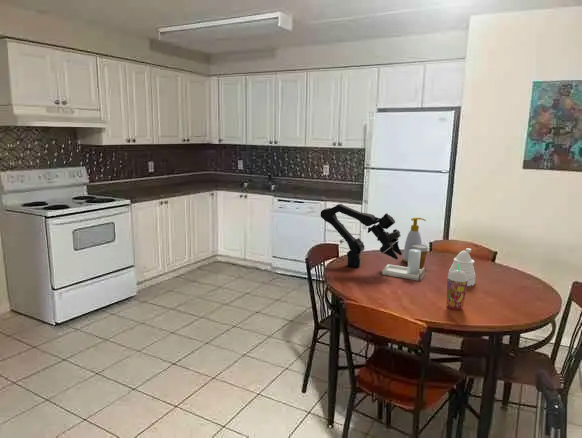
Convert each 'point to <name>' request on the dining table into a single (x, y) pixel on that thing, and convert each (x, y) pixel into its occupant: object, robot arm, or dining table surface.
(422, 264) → the disposable coffee cup
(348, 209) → the robot arm
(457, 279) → the smoothie
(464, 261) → the honey pot
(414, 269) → the white rounded wedge
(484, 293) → the dining table surface
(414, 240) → the soap bottle
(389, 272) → the drawer
